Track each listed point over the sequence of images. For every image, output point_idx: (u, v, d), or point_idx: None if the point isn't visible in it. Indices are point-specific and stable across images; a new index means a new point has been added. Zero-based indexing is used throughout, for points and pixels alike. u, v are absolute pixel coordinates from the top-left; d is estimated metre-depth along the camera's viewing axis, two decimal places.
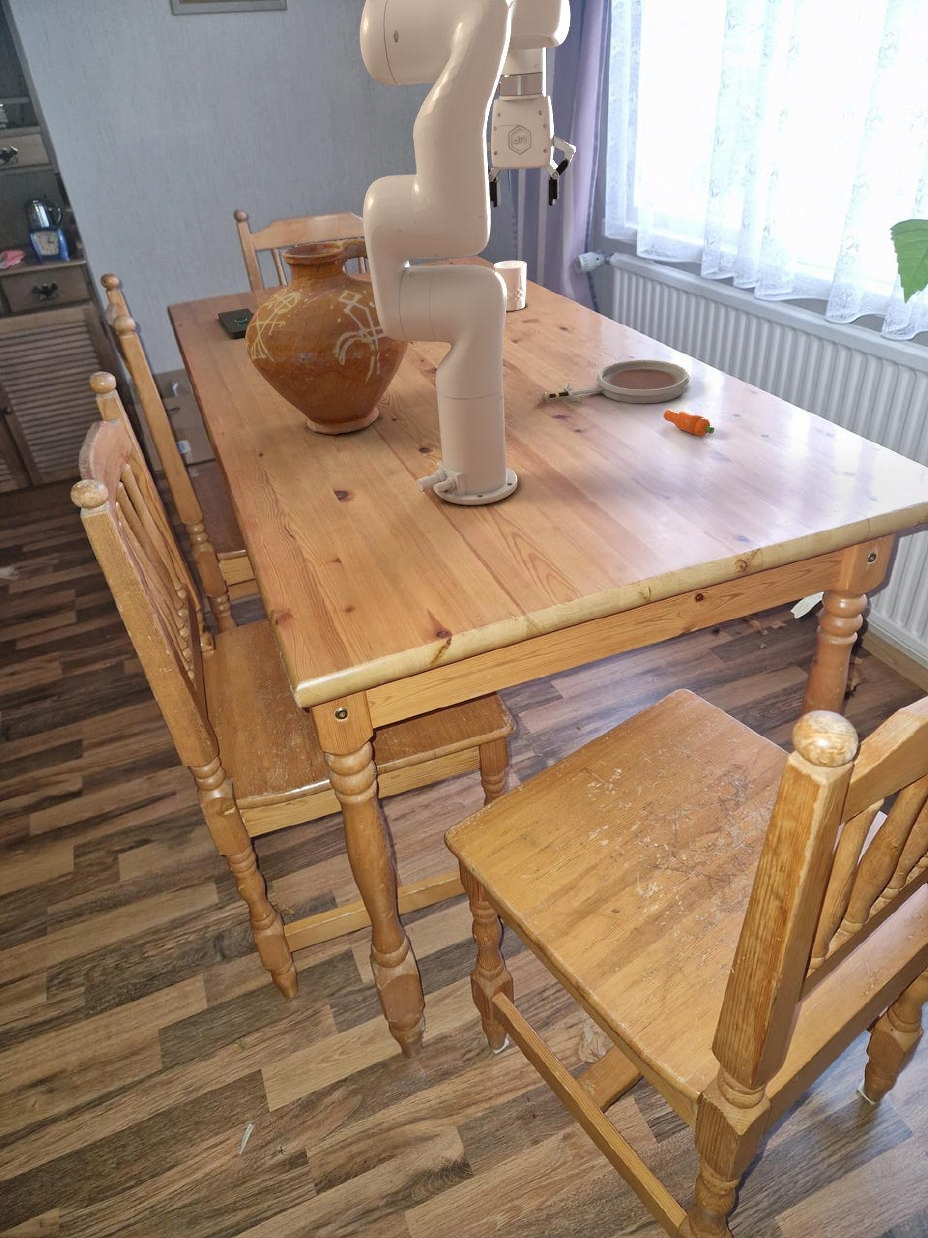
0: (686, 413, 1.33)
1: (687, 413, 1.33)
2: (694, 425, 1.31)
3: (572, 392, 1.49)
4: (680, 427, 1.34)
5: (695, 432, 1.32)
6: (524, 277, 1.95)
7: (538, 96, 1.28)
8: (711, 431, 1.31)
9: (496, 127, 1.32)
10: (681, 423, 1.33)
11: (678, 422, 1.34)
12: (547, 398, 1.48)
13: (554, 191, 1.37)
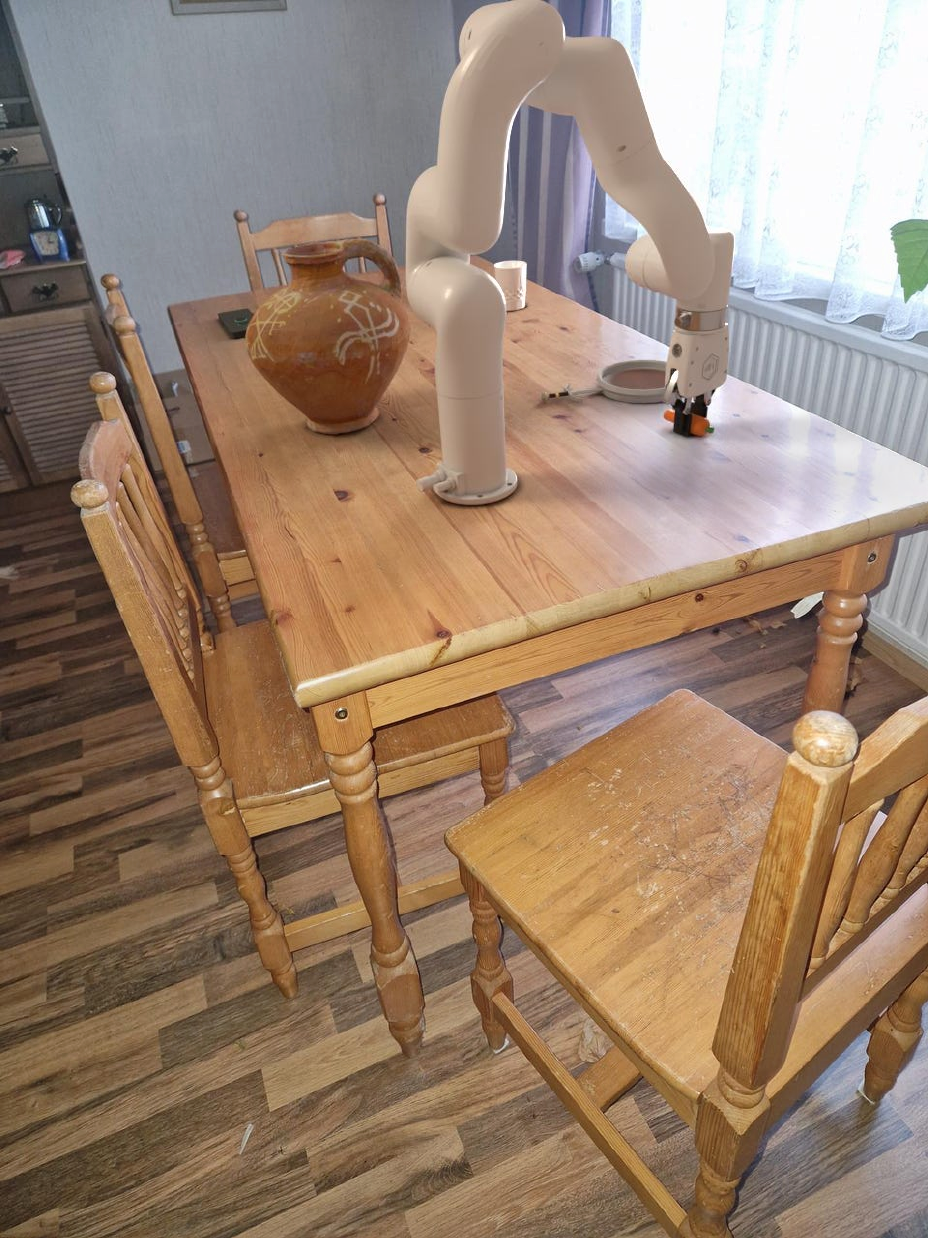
0: None
1: None
2: (694, 425, 1.31)
3: (572, 392, 1.49)
4: None
5: (695, 432, 1.32)
6: (524, 277, 1.95)
7: (724, 324, 1.24)
8: (711, 431, 1.31)
9: (692, 361, 1.23)
10: None
11: None
12: (547, 398, 1.48)
13: None
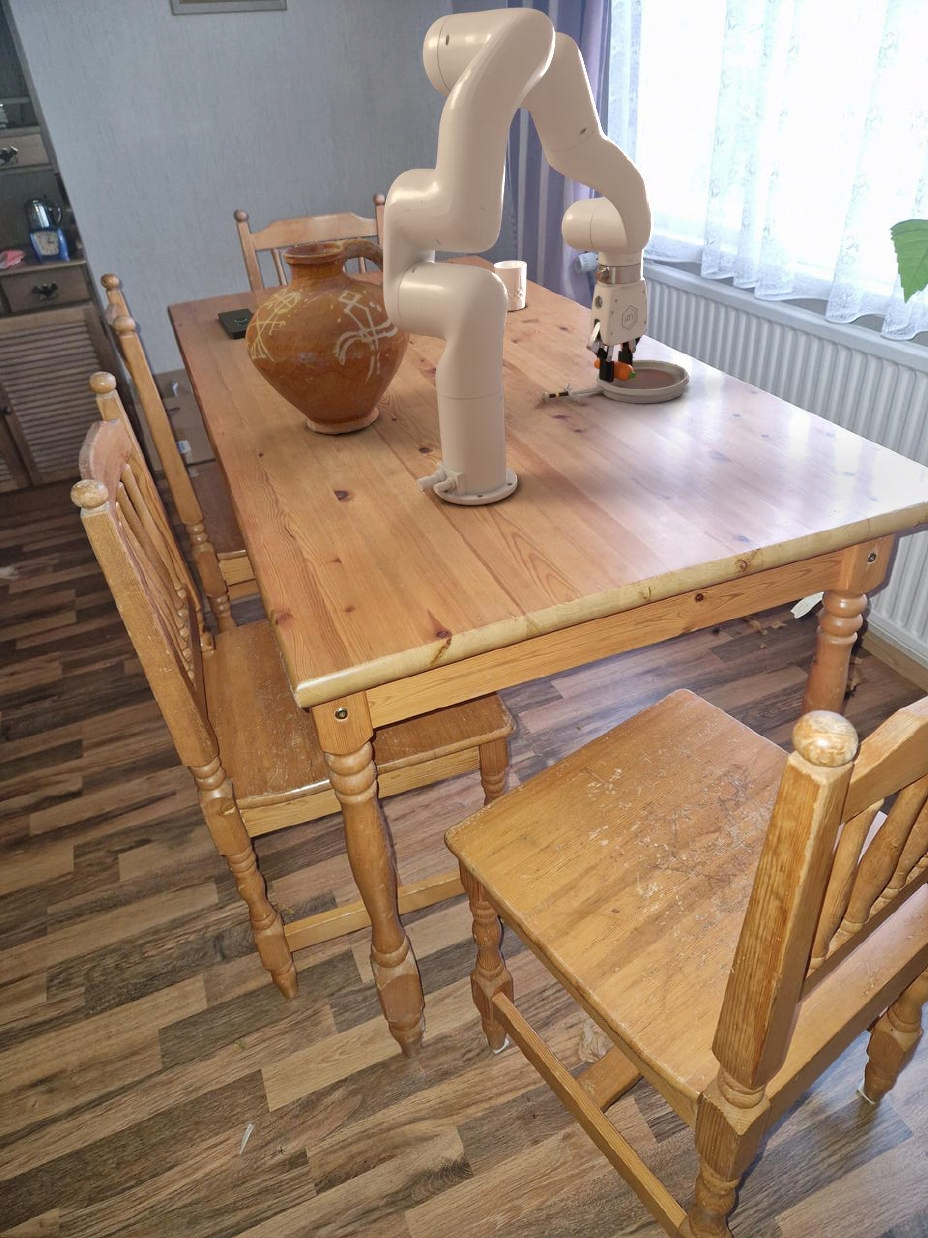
0: (613, 360, 1.48)
1: (614, 360, 1.48)
2: (619, 369, 1.46)
3: (572, 392, 1.49)
4: None
5: (619, 376, 1.46)
6: (524, 277, 1.95)
7: None
8: (633, 376, 1.45)
9: (612, 311, 1.38)
10: None
11: None
12: (547, 398, 1.48)
13: None
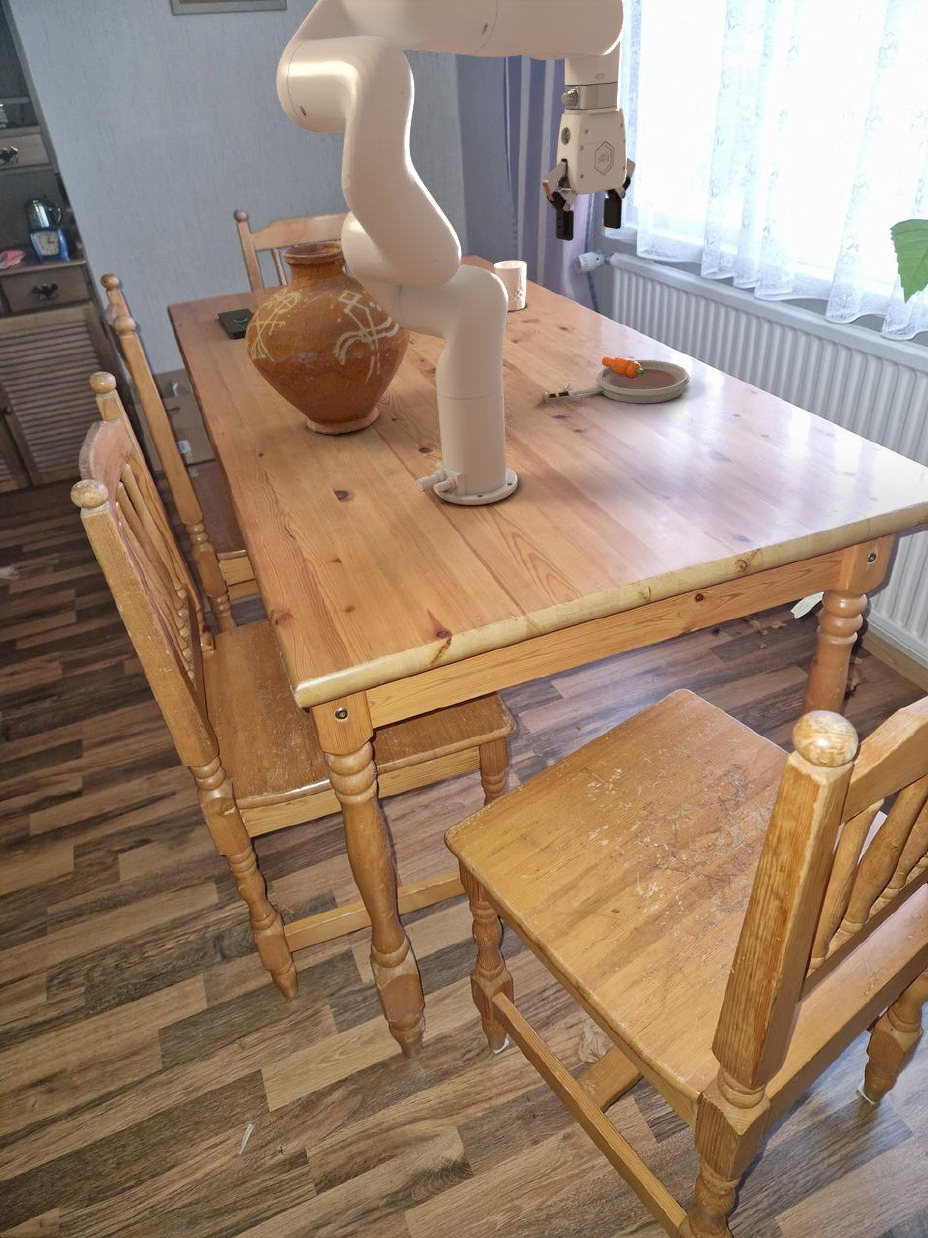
0: None
1: None
2: (634, 361, 1.47)
3: (572, 392, 1.49)
4: (617, 360, 1.49)
5: (630, 363, 1.47)
6: (524, 277, 1.95)
7: None
8: (641, 372, 1.46)
9: (582, 146, 1.12)
10: (622, 358, 1.49)
11: (619, 357, 1.49)
12: (547, 398, 1.48)
13: None
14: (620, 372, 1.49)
